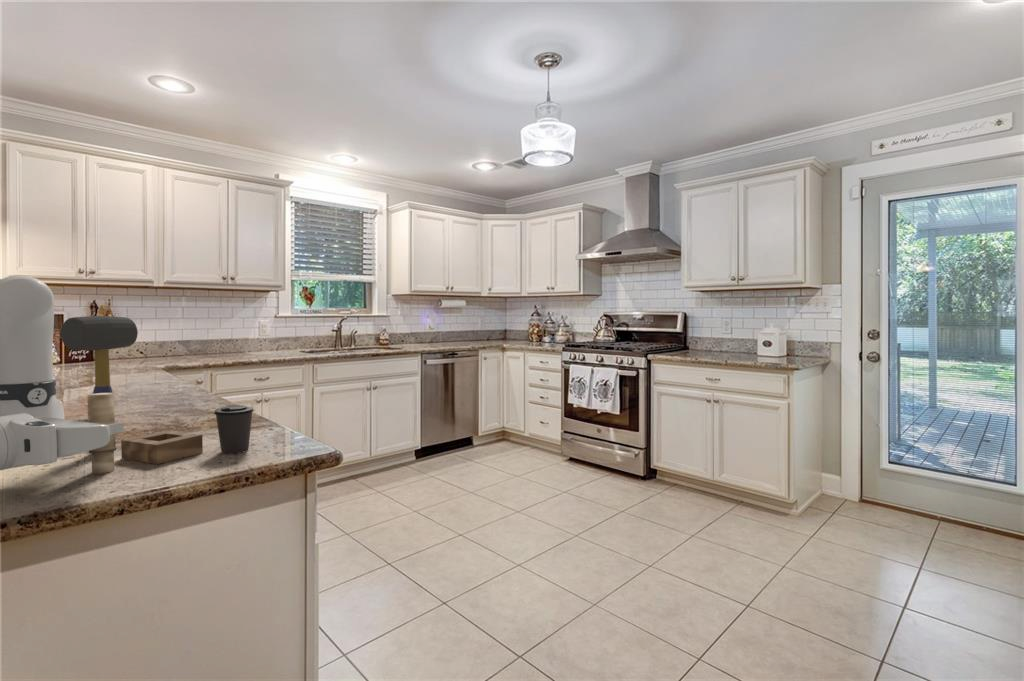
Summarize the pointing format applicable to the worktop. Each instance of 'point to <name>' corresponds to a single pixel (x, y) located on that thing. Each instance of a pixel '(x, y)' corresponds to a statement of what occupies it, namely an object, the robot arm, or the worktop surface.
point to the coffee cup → (234, 428)
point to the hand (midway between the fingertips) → (104, 424)
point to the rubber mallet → (99, 341)
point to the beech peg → (102, 414)
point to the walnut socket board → (161, 446)
